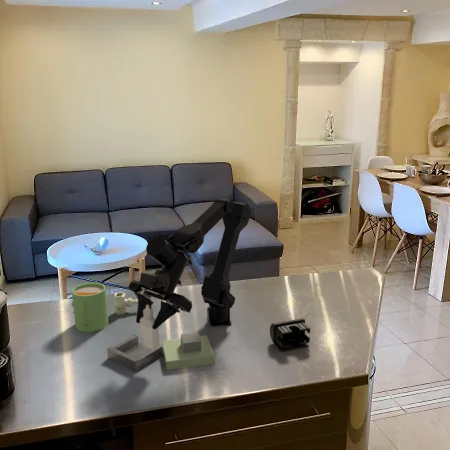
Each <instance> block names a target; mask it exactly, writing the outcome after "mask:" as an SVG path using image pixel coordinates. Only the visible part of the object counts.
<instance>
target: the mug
mask: <svg viewBox="0 0 450 450" xmlns="http://www.w3.org/2000/svg"><path fill="white" fill-rule="evenodd" d="M71 295H72V301H71V307H73V314H74V324H75V329H76V330H78V331H79V332H82V333H92V332H96V331H101V330H102V329H105V328H107V326H108V325H109V314H108V313H109V312H108V310H109V309H108V302H107V289H106V286H105V285H104V284H103V283H100V282H86V283H81V284H79V285H76V286H75V287H73V288H72V290H71Z"/></svg>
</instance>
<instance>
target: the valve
mask: <svg viewBox="0 0 450 450" xmlns="http://www.w3.org/2000/svg"><path fill="white" fill-rule="evenodd" d="M126 295H127V294H126V293H125V292H121V291H119V292H115V293H114V295H113V300H114V301H113V306H114V314H116V315H117V316H118V315H119V316H122V315H125V314H126V313H127V312H128V311H127V307H128V308H131V307H133V305H138V299H137V298H135V299H132V297H128V298H126ZM151 299H152V297H151V298H150V300H151ZM151 301H152V300H151ZM150 308H151V309H152V306H151V307H150ZM152 310H153V309H152ZM121 314H122V315H121Z"/></svg>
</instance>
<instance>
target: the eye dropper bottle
mask: <svg viewBox="0 0 450 450" xmlns="http://www.w3.org/2000/svg"><path fill="white" fill-rule="evenodd" d="M151 308H152V307H151ZM151 308H150V307H149V305H146V309H144V310H143V315H144V317H142V318H140V323H139V330H140V332H139V333H140V344H142V345H143V346H144V347H145V348H146V349H149V350H156V349H158V348H159V347H160V346H161V343H160V341H161V340H160V331H159V330H160V328H159V327H160V326H159V327H158V328H157V329H155V330H154V329H153V328H152V327H153V324H154V321H155V319H156V317H154V312H153V311H154V310H153V309H151Z"/></svg>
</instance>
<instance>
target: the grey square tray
mask: <svg viewBox="0 0 450 450" xmlns="http://www.w3.org/2000/svg"><path fill="white" fill-rule="evenodd" d="M106 350H107V358H108V359H110V360H111V361H114V362H115V363H117V364H120V365H121V366H124V367H126V368H127V369H130V370H131V371H133V372H138V371H139V370H140V369H142V368H143V367H145V366H146V365H148V364H150V363H151V362H153V361H154V360H156V359H157V358H159V357H161V356H162V355H164V354H163V349H162V345H160V347H159V348H158V349H156V350H149V349H146V348H145V347H144V346H143V345H142V343H141V342H139V336H138V335H136V334H133V336H130V337H129V338H127V339H125V340H123V341H121V342H120V343H118V344H116V345H114V346H110V347H107V349H106Z"/></svg>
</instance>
